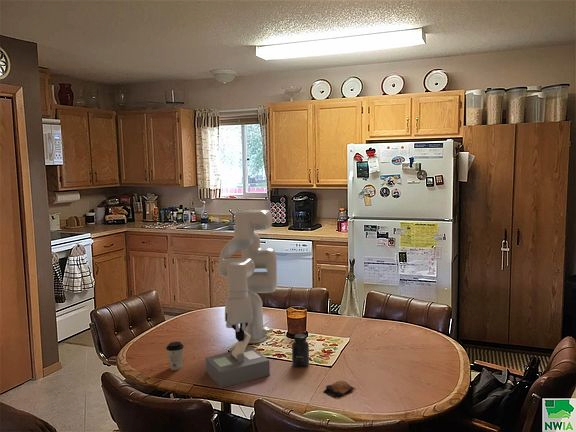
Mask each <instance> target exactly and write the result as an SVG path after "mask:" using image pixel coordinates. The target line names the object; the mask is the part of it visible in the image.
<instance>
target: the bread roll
mask: <svg viewBox="0 0 576 432" xmlns="http://www.w3.org/2000/svg"><path fill="white" fill-rule="evenodd" d="M356 389H357V388H356V387H354V386H352V385H351V384H350V383H348V382H347V381H344V380H337V381H335V382H333V383H332V384H328V385H326V386H325V390H323V391H322V393H323V394H325V395H327V396H329V397H331V398H333V399H334V398H336V399H340V398H342V397H344V396H346V395H348V394H350V393H352V392H353V391H355V390H356Z"/></svg>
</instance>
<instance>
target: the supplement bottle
mask: <svg viewBox="0 0 576 432" xmlns="http://www.w3.org/2000/svg"><path fill="white" fill-rule="evenodd" d="M291 343H292V344H291V363H292V366H294V367H295V368H306V367H307V366H309V365H310V345H309V342H308V341H307V335H306V334H304V333H297V334H295V335H294V341H293V342H291Z"/></svg>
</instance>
